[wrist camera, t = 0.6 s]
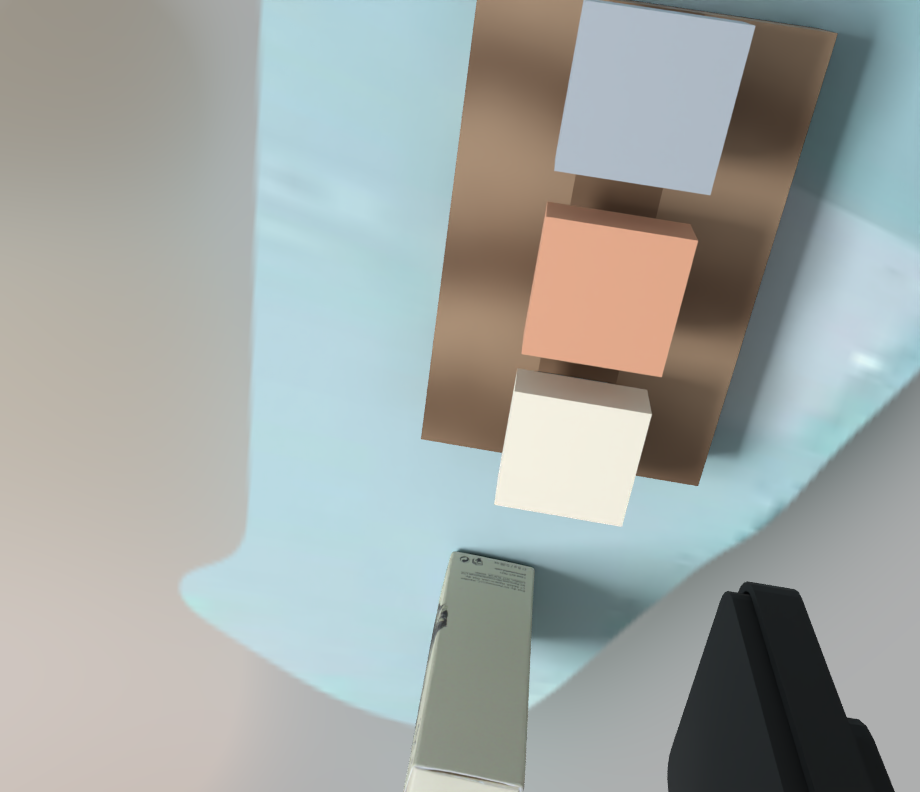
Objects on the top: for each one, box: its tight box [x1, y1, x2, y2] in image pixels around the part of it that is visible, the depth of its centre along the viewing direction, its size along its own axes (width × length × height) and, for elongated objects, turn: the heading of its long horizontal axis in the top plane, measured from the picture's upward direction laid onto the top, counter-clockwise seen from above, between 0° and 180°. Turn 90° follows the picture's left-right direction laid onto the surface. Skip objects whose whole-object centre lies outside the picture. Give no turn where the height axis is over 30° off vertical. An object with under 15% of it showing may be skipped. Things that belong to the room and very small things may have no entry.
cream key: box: [494, 368, 652, 527], centre depth 34 cm, size 5×5×4 cm
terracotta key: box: [521, 201, 698, 377], centre depth 31 cm, size 5×5×4 cm
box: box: [403, 552, 535, 792], centre depth 38 cm, size 5×4×13 cm
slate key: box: [554, 0, 755, 195], centre depth 28 cm, size 5×5×4 cm
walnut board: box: [421, 0, 838, 486], centre depth 34 cm, size 18×12×2 cm, turn 172°
